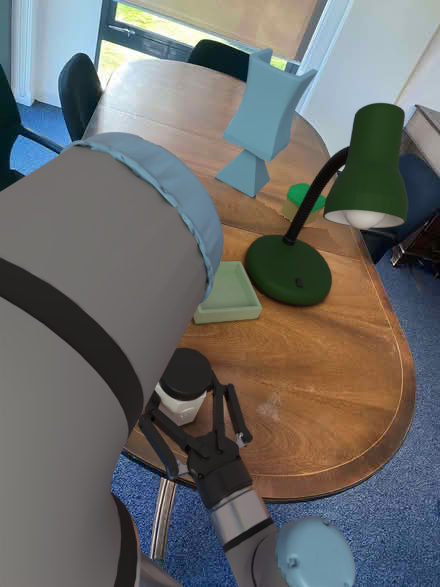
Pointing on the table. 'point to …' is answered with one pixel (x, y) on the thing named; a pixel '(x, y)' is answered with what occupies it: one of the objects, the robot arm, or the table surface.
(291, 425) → the table surface
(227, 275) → the tray
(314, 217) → the cake
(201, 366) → the jar
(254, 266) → the desk lamp
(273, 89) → the planter
